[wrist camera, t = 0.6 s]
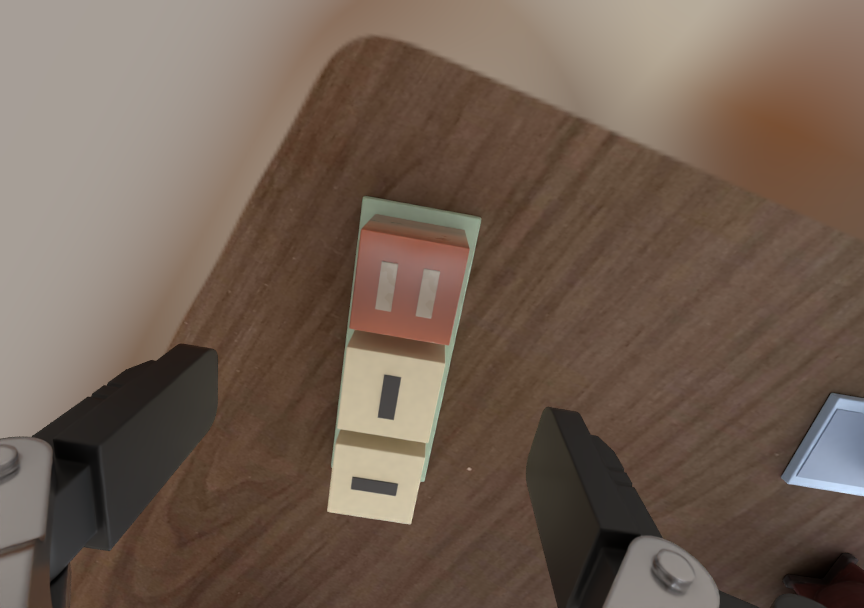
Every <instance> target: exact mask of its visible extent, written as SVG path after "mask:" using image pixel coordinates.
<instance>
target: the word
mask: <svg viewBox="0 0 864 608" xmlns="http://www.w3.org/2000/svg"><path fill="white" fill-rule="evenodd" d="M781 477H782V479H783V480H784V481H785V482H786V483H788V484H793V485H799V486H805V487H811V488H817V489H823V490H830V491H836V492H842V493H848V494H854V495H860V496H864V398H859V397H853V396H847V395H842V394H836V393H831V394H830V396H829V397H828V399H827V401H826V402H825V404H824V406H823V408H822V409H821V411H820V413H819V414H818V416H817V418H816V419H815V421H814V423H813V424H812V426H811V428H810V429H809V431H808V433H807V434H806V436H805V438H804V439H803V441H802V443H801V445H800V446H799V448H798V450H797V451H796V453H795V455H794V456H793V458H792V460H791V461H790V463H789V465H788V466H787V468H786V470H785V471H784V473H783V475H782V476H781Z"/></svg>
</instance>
